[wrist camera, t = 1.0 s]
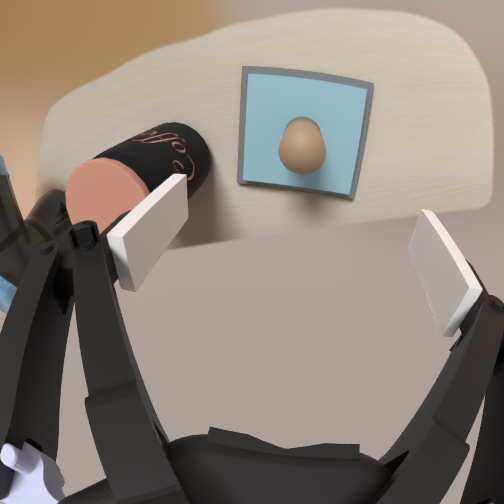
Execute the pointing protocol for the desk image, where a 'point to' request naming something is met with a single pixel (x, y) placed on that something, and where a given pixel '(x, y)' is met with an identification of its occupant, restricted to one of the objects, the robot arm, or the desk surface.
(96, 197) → the coffee jar
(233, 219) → the desk surface
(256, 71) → the mat
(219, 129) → the desk surface
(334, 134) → the lid
